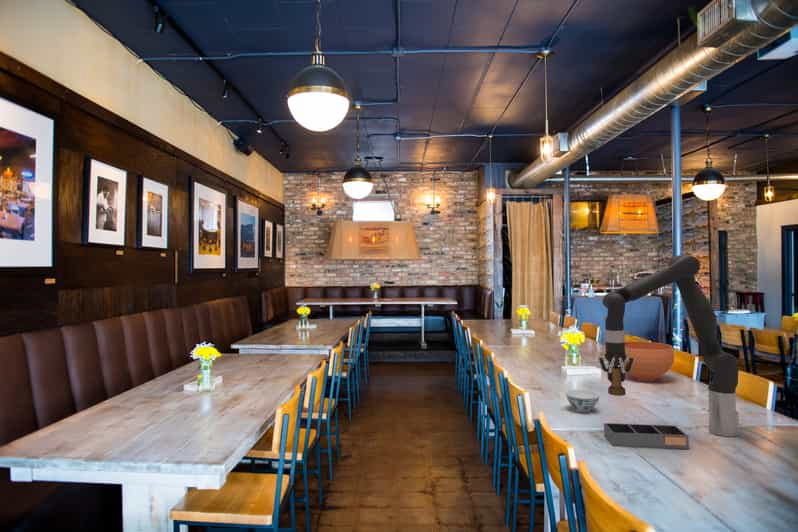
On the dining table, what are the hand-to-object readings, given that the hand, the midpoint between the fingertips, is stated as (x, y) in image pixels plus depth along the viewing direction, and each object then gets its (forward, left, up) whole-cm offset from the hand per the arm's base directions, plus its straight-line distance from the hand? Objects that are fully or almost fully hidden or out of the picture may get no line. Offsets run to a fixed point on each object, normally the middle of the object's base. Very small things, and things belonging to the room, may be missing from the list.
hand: (616, 381), depth 194 cm
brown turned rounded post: (0, 0, -5) cm, 5 cm away
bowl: (-42, -92, -21) cm, 103 cm away
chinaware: (+8, -27, -21) cm, 35 cm away
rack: (-7, +12, -21) cm, 25 cm away
